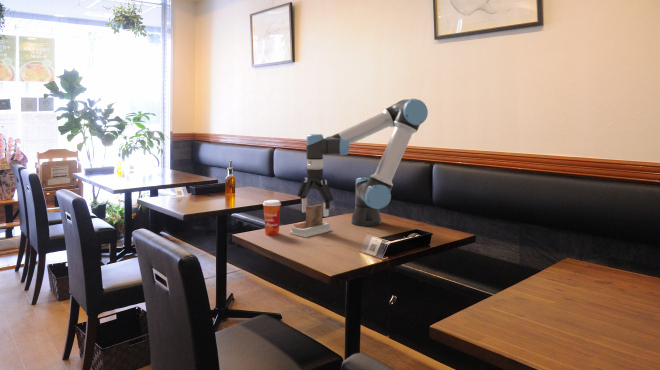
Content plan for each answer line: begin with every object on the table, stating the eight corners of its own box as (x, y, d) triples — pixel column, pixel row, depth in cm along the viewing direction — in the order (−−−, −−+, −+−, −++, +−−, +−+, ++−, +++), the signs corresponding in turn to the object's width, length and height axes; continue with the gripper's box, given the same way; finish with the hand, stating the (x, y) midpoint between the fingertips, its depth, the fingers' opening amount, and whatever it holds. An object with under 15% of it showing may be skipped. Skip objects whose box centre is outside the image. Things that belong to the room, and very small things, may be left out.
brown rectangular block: (310, 231, 221) (310, 207, 220) (305, 230, 223) (306, 206, 222) (322, 228, 227) (322, 205, 226) (317, 227, 229) (317, 204, 228)
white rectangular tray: (316, 226, 234) (316, 217, 233) (332, 230, 228) (332, 221, 227) (289, 233, 221) (289, 223, 220) (305, 237, 214) (305, 227, 213)
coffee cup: (259, 234, 217) (259, 201, 215) (268, 231, 225) (268, 199, 223) (276, 236, 214) (276, 203, 212) (284, 232, 222) (284, 200, 219)
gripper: (289, 167, 227) (290, 211, 230) (329, 171, 210) (329, 219, 214) (301, 165, 232) (301, 209, 235) (341, 169, 216) (340, 216, 219)
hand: (315, 214), depth 224 cm, fingers open, 13 cm apart
